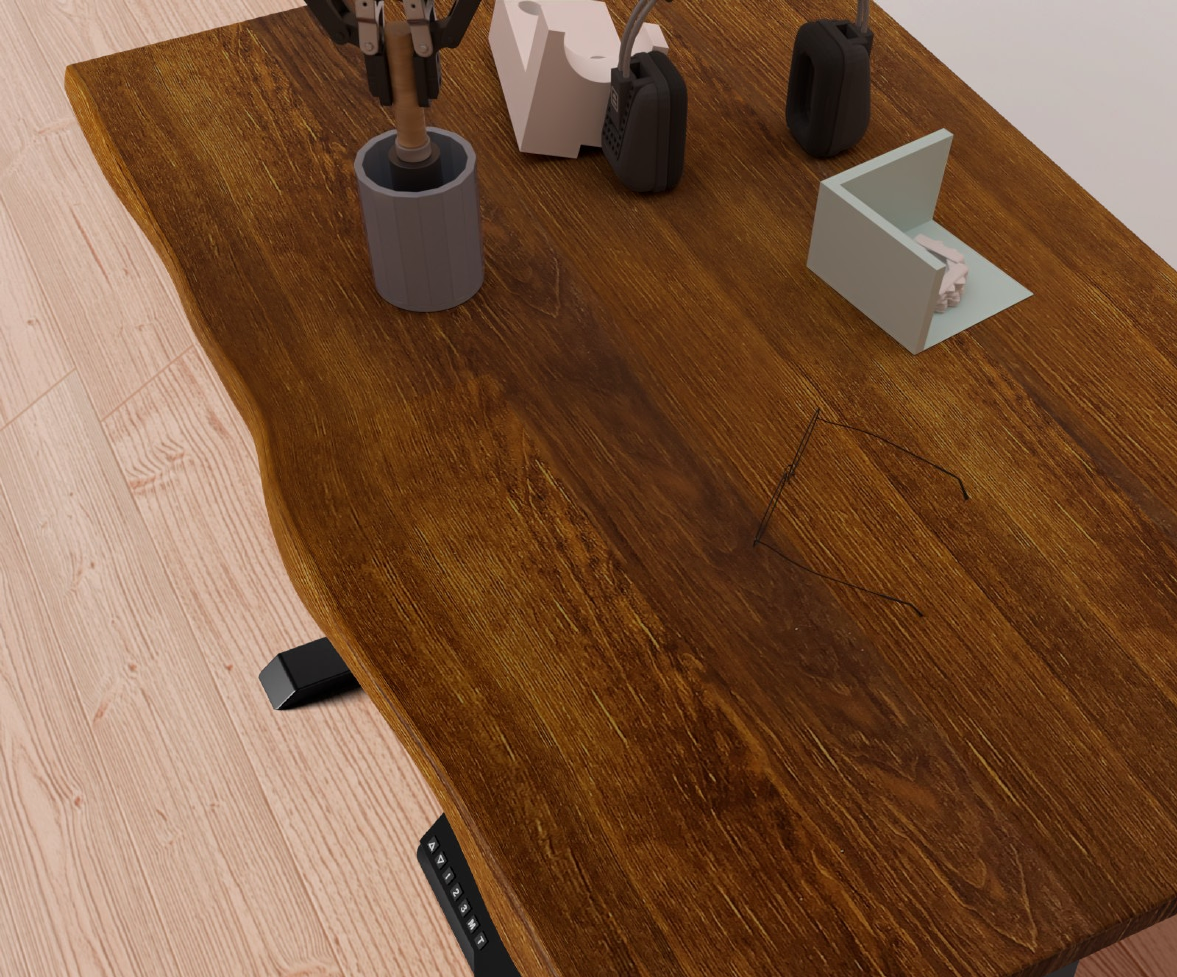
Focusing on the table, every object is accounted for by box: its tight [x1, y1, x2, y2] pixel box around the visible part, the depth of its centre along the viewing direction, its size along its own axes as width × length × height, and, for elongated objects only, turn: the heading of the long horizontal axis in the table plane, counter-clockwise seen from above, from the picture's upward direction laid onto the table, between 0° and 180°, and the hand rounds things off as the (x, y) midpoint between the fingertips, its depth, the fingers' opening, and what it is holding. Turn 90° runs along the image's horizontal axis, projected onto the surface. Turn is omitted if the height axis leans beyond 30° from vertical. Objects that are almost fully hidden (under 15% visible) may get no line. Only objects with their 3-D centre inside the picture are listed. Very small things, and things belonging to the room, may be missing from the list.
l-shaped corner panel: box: [806, 127, 1034, 356], centre depth 93 cm, size 12×12×8 cm
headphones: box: [601, 0, 875, 193], centre depth 98 cm, size 22×6×20 cm, turn 109°
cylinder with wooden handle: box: [383, 20, 444, 192], centre depth 86 cm, size 4×4×14 cm
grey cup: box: [353, 126, 486, 313], centre depth 92 cm, size 8×8×10 cm
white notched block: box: [487, 0, 670, 159], centre depth 107 cm, size 18×10×10 cm, turn 11°
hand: (407, 99), depth 85 cm, fingers closed on cylinder with wooden handle, 2 cm apart
